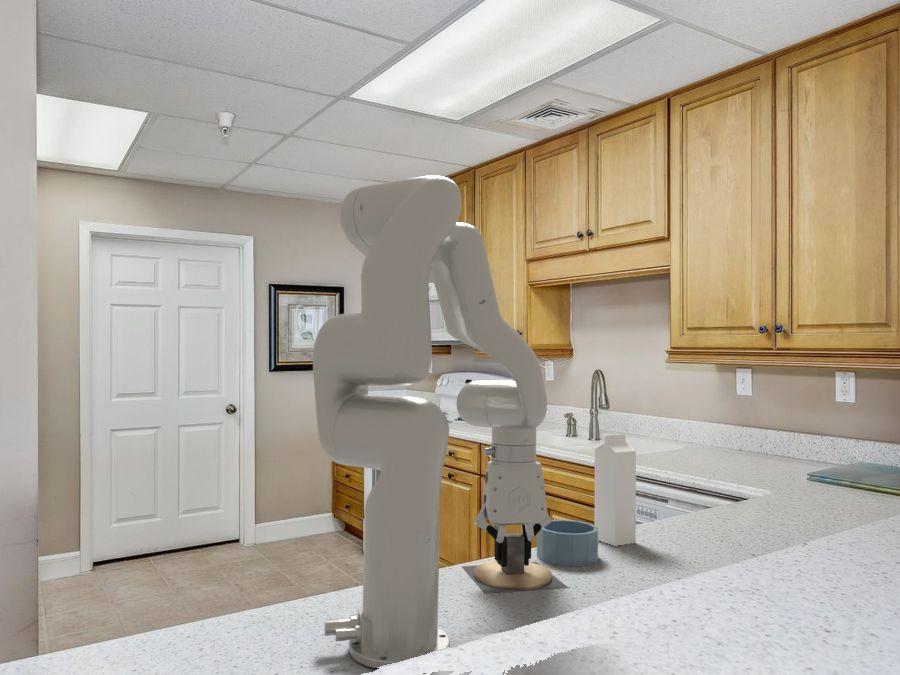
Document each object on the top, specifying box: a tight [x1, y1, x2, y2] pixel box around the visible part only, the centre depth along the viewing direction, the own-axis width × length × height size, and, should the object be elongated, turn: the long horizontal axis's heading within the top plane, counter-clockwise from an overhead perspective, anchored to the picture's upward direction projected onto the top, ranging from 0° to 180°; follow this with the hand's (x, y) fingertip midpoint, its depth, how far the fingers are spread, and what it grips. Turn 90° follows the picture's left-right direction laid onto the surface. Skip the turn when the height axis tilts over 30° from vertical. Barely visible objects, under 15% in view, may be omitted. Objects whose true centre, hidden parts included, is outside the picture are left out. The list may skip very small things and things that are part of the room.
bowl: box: [536, 519, 599, 567], centre depth 122 cm, size 11×11×6 cm
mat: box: [461, 561, 569, 595], centre depth 110 cm, size 14×14×1 cm
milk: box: [593, 433, 637, 547], centre depth 135 cm, size 6×6×22 cm
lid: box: [474, 532, 553, 590], centre depth 110 cm, size 13×13×7 cm
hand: (512, 562), depth 110 cm, fingers open, 3 cm apart
